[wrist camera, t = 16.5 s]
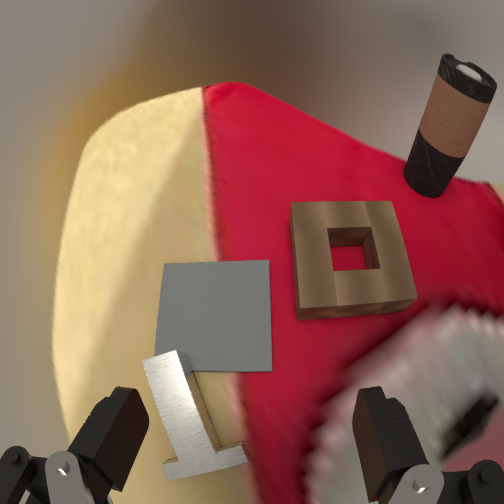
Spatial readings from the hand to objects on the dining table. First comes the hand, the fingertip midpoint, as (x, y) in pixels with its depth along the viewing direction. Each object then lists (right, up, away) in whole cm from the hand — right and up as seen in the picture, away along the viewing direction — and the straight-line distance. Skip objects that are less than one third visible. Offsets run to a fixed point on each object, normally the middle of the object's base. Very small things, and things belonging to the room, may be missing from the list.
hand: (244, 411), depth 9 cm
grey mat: (-4, -1, +21) cm, 22 cm away
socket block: (+11, +4, +23) cm, 26 cm away
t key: (-8, -4, +17) cm, 19 cm away
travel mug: (+26, +16, +29) cm, 42 cm away
